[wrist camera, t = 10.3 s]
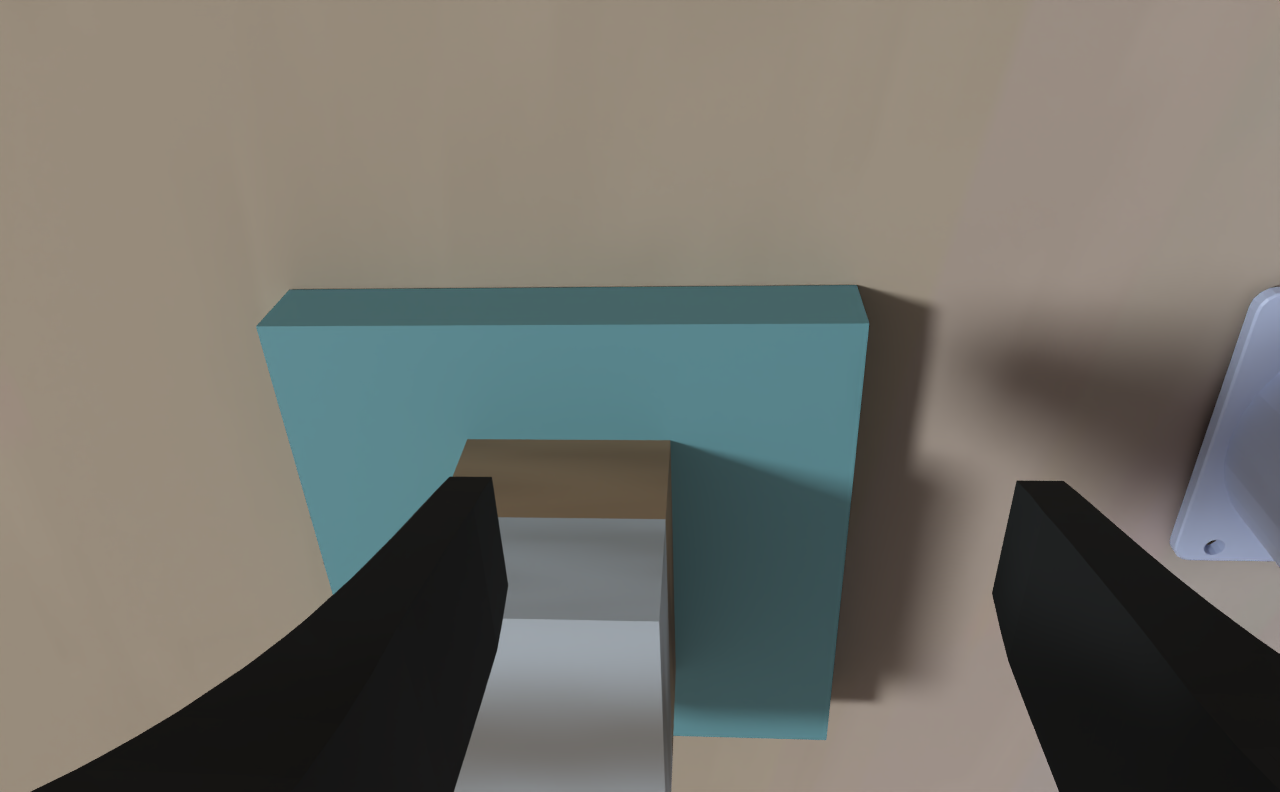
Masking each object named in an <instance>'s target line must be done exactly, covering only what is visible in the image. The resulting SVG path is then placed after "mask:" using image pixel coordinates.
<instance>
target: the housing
mask: <svg viewBox="0 0 1280 792" xmlns="http://www.w3.org/2000/svg"><path fill="white" fill-rule="evenodd" d="M453 477H492V480H493V487H494V494H495V500H496V507H497V514H498V520H499V527H500V533H501V540H502V547H503V553H504V560H505V566H506V573H507V580H508V591H507V597H506V603H505V609H504V616H503V622H502V627H501V633H500V638H499V644H498V649H497V653H496V656H495V660H494V663H493V666H492V670H491V673H490V676H489V680H488V683H487V686H486V690H485V693H484V696H483V699H482V703H481V706H480V709H479V712H478V716H477V719H476V722H475V725H474V729H473V732H472V735H471V738H470V742H469V745H468V748H467V751H466V755H465V758H464V761H463V764H462V767H461V771H460V774H459V777H458V780H457V784H456V787H455V790H454V792H671V782H672V756H673V730H674V704H675V678H676V657H675V615H674V572H673V529H672V487H671V444H670V440H533V439H467V441H466V444H465V446H464V449H463V451H462V454H461V456H460V459H459V461H458V464H457V466H456V469H455V472H454V474H453Z"/></svg>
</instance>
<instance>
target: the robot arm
mask: <svg viewBox="0 0 1280 792" xmlns="http://www.w3.org/2000/svg"><path fill="white" fill-rule="evenodd" d="M1212 540H1216V541H1215V542H1213V543H1212V544H1209V545H1206V544H1207V543H1208V542H1210V541H1212ZM1170 545H1171V547H1172V549H1173V550H1174V552H1175V553H1176V555H1177V556H1178V557H1180V558H1182V559H1186V560H1224V561H1275V562H1276V563H1277V565H1278V566H1279V567H1280V287H1273V288H1269V289H1267V290H1265V291H1263V292H1261V293H1259V294H1258V295H1257V296H1256V297H1255V298H1254V299H1253V301H1252V302H1251V304H1250V306H1249V308H1248V311H1247V314H1246V317H1245V320H1244V323H1243V326H1242V329H1241V332H1240V335H1239V338H1238V341H1237V344H1236V347H1235V350H1234V352H1233V355H1232V358H1231V361H1230V364H1229V367H1228V370H1227V373H1226V376H1225V379H1224V382H1223V385H1222V388H1221V391H1220V394H1219V396H1218V399H1217V402H1216V405H1215V408H1214V411H1213V414H1212V417H1211V420H1210V423H1209V426H1208V429H1207V432H1206V435H1205V438H1204V440H1203V443H1202V446H1201V449H1200V452H1199V455H1198V458H1197V461H1196V464H1195V467H1194V470H1193V473H1192V476H1191V479H1190V482H1189V484H1188V487H1187V490H1186V493H1185V496H1184V499H1183V502H1182V505H1181V508H1180V511H1179V514H1178V517H1177V520H1176V523H1175V526H1174V528H1173V531H1172V534H1171V537H1170ZM507 591H508V580H507V573H506V566H505V560H504V553H503V547H502V540H501V533H500V527H499V520H498V514H497V507H496V500H495V494H494V487H493V480H492V477H451V476H450V477H449V478H448V479H447V480H446V481H445V482H444V483H443V484H442V485H441V486H440V487H439V488H438V489H437V490H436V491H435V492H434V493H433V494H432V495H431V496H430V497H429V498H428V499H427V500H426V501H425V503H424V504H423V505H422V506H421V507H420V508H419V509H418V510H417V511H416V512H415V513H414V514H413V515H412V517H411V518H410V519H409V520H408V521H407V522H406V523H405V524H404V525H403V526H402V527H401V528H400V529H399V530H398V531H397V532H396V533H395V535H394V536H393V537H392V538H391V539H390V540H389V541H388V542H387V543H386V544H385V545H384V546H383V547H382V548H381V549H380V550H379V551H378V552H377V553H376V554H375V555H374V556H373V557H372V558H371V559H370V560H369V561H368V562H367V563H366V564H365V565H364V566H363V567H362V568H361V569H360V570H359V571H358V572H357V573H356V574H355V575H354V576H353V577H352V578H351V579H350V580H349V581H348V582H346V583H345V584H344V585H343V586H342V587H341V588H340V589H339V590H338V591H337V592H336V593H334V594H333V595H332V596H331V597H330V598H329V599H328V600H327V601H326V602H325V603H324V604H322V605H321V606H320V607H319V608H318V609H317V610H316V611H315V612H314V613H313V614H311V615H310V616H309V617H308V618H307V619H306V620H305V621H303V622H302V623H301V624H300V625H299V626H297V627H296V628H295V629H294V630H292V631H291V632H290V633H289V634H287V635H286V636H285V637H284V638H282V639H281V640H280V641H278V642H277V643H276V644H275V645H273V646H272V647H271V648H269V649H268V650H267V651H265V652H264V653H263V654H261V655H260V656H259V657H258V658H256V659H255V660H254V661H252V662H251V663H249V664H248V665H247V666H245V667H244V668H243V669H241V670H240V671H238V672H237V673H235V674H234V675H232V676H231V677H229V678H228V679H226V680H225V681H223V682H222V683H220V684H219V685H217V686H216V687H214V688H213V689H211V690H210V691H208V692H207V693H205V694H204V695H202V696H201V697H199V698H198V699H196V700H195V701H193V702H192V703H190V704H189V705H187V706H186V707H184V708H183V709H181V710H180V711H178V712H177V713H175V714H173V715H172V716H170V717H169V718H167V719H165V720H164V721H162V722H160V723H158V724H157V725H155V726H153V727H152V728H150V729H148V730H147V731H145V732H143V733H142V734H140V735H138V736H137V737H135V738H133V739H131V740H129V741H128V742H126V743H124V744H122V745H120V746H119V747H117V748H115V749H113V750H111V751H110V752H108V753H106V754H104V755H103V756H101V757H99V758H97V759H95V760H93V761H91V762H89V763H88V764H86V765H84V766H82V767H80V768H78V769H76V770H74V771H72V772H70V773H68V774H66V775H64V776H62V777H60V778H58V779H56V780H54V781H52V782H50V783H48V784H46V785H44V786H41V787H39V788H37V789H35V790H33V791H31V792H454V790H455V787H456V784H457V780H458V777H459V774H460V771H461V767H462V764H463V761H464V758H465V755H466V751H467V748H468V745H469V742H470V738H471V735H472V732H473V729H474V725H475V722H476V719H477V716H478V712H479V709H480V706H481V703H482V699H483V696H484V693H485V690H486V686H487V683H488V680H489V676H490V673H491V670H492V666H493V663H494V660H495V656H496V653H497V649H498V644H499V638H500V633H501V627H502V622H503V616H504V609H505V603H506V597H507ZM992 595H993V599H994V604H995V608H996V612H997V617H998V621H999V626H1000V630H1001V634H1002V638H1003V642H1004V646H1005V650H1006V654H1007V657H1008V661H1009V664H1010V666H1011V669H1012V672H1013V675H1014V677H1015V680H1016V682H1017V685H1018V688H1019V690H1020V693H1021V695H1022V698H1023V701H1024V703H1025V706H1026V708H1027V711H1028V714H1029V716H1030V719H1031V721H1032V724H1033V726H1034V729H1035V731H1036V734H1037V737H1038V739H1039V742H1040V744H1041V747H1042V749H1043V752H1044V754H1045V757H1046V759H1047V762H1048V764H1049V767H1050V770H1051V772H1052V775H1053V777H1054V780H1055V782H1056V785H1057V787H1058V790H1059V792H1280V654H1279V653H1278V652H1276V651H1275V650H1273V649H1272V648H1270V647H1269V646H1267V645H1266V644H1264V643H1263V642H1262V641H1260V640H1259V639H1257V638H1256V637H1255V636H1253V635H1252V634H1251V633H1249V632H1248V631H1247V630H1245V629H1244V628H1242V627H1241V626H1240V625H1238V624H1237V623H1236V622H1234V621H1233V620H1232V619H1230V618H1229V617H1228V616H1226V615H1225V614H1224V613H1222V612H1221V611H1220V610H1218V609H1217V608H1216V607H1214V606H1213V605H1212V604H1210V603H1209V602H1208V601H1206V600H1205V599H1204V598H1203V597H1201V596H1200V595H1199V594H1198V593H1196V592H1195V591H1194V590H1192V589H1191V588H1190V587H1189V586H1187V585H1186V584H1185V583H1184V582H1182V581H1181V580H1180V579H1179V578H1177V577H1176V576H1175V575H1174V574H1173V573H1171V572H1170V571H1169V570H1168V569H1167V568H1165V567H1164V566H1163V565H1162V564H1160V563H1159V562H1158V561H1157V560H1156V559H1154V558H1153V557H1152V556H1151V555H1150V554H1149V553H1147V552H1146V551H1145V550H1144V549H1143V548H1141V547H1140V546H1139V545H1138V544H1137V543H1136V542H1134V541H1133V540H1132V539H1131V538H1130V537H1129V536H1127V535H1126V534H1125V533H1124V532H1123V531H1122V530H1121V529H1119V528H1118V527H1117V526H1116V525H1115V524H1114V523H1112V522H1111V521H1110V520H1109V519H1108V518H1107V517H1106V516H1104V515H1103V514H1102V513H1101V512H1100V511H1099V510H1097V509H1096V508H1095V507H1094V506H1093V505H1092V504H1091V503H1089V502H1088V501H1087V500H1086V499H1085V498H1084V497H1082V496H1081V495H1080V494H1079V493H1078V492H1076V491H1075V490H1074V489H1073V488H1071V487H1070V486H1069V485H1068V484H1067V483H1065V482H1064V481H1017V482H1016V486H1015V491H1014V496H1013V500H1012V505H1011V509H1010V514H1009V518H1008V523H1007V528H1006V532H1005V537H1004V541H1003V546H1002V550H1001V555H1000V560H999V564H998V569H997V573H996V578H995V582H994V587H993V592H992Z"/></svg>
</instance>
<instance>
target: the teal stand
mask: <svg viewBox="0 0 1280 792" xmlns="http://www.w3.org/2000/svg"><path fill="white" fill-rule="evenodd" d="M256 328H257V331H258V335H259V338H260V342H261V345H262V349H263V352H264V356H265V359H266V363H267V366H268V370H269V373H270V377H271V380H272V384H273V387H274V390H275V394H276V397H277V401H278V404H279V408H280V411H281V415H282V418H283V422H284V425H285V429H286V432H287V436H288V439H289V443H290V446H291V450H292V453H293V457H294V460H295V464H296V467H297V471H298V474H299V478H300V481H301V485H302V488H303V492H304V495H305V499H306V502H307V506H308V509H309V513H310V516H311V520H312V523H313V527H314V530H315V533H316V537H317V540H318V544H319V547H320V551H321V554H322V558H323V561H324V565H325V568H326V572H327V575H328V579H329V582H330V586H331V589H332V593H333V594H334V593H336V592H337V591H338V590H339V589H340V588H341V587H342V586H343V585H344V584H345V583H346V582H348V581H349V580H350V579H351V578H352V577H353V576H354V575H355V574H356V573H357V572H358V571H359V570H360V569H361V568H362V567H363V566H364V565H365V564H366V563H367V562H368V561H369V560H370V559H371V558H372V557H373V556H374V555H375V554H376V553H377V552H378V551H379V550H380V549H381V548H382V547H383V546H384V545H385V544H386V543H387V542H388V541H389V540H390V539H391V538H392V537H393V536H394V535H395V533H396V532H397V531H398V530H399V529H400V528H401V527H402V526H403V525H404V524H405V523H406V522H407V521H408V520H409V519H410V518H411V517H412V515H413V514H414V513H415V512H416V511H417V510H418V509H419V508H420V507H421V506H422V505H423V504H424V503H425V501H426V500H427V499H428V498H429V497H430V496H431V495H432V494H433V493H434V492H435V491H436V490H437V489H438V488H439V487H440V486H441V485H442V484H443V483H444V482H445V481H446V480H447V479H448V478H449V477H450V476H451V477H453V474H454V472H455V469H456V466H457V464H458V461H459V459H460V456H461V454H462V451H463V449H464V446H465V444H466V441H467V439H533V440H670V444H671V487H672V529H673V572H674V615H675V657H676V678H675V704H674V730H673V736H703V737H739V738H775V739H811V740H826V738H827V728H828V718H829V709H830V699H831V689H832V680H833V670H834V660H835V651H836V641H837V631H838V621H839V612H840V602H841V592H842V583H843V573H844V563H845V554H846V544H847V534H848V525H849V515H850V505H851V496H852V486H853V476H854V467H855V457H856V447H857V438H858V428H859V418H860V409H861V399H862V389H863V379H864V370H865V360H866V350H867V341H868V331H869V321H868V318H867V315H866V312H865V309H864V306H863V303H862V299H861V296H860V293H859V290H858V287H857V285H823V286H696V287H569V288H442V289H315V290H289V291H288V292H287V293H286V294H285V295H284V296H283V297H282V298H281V300H280V301H279V302H278V303H277V304H276V305H275V306H274V307H273V308H272V310H271V311H270V312H269V313H268V314H267V315H266V316H265V317H264V318H263V319H262V321H261V322H260V323H259V324H258V325H257V326H256Z"/></svg>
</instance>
